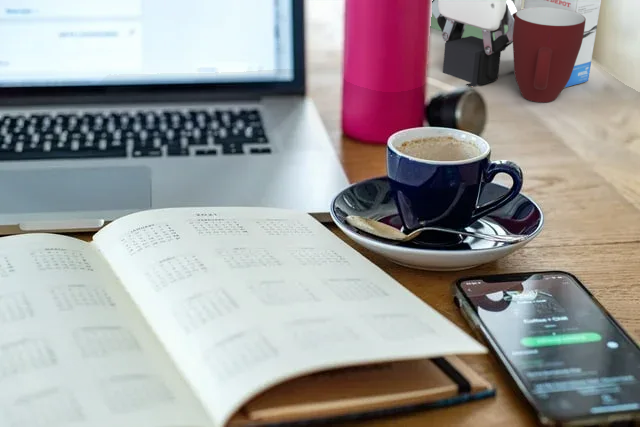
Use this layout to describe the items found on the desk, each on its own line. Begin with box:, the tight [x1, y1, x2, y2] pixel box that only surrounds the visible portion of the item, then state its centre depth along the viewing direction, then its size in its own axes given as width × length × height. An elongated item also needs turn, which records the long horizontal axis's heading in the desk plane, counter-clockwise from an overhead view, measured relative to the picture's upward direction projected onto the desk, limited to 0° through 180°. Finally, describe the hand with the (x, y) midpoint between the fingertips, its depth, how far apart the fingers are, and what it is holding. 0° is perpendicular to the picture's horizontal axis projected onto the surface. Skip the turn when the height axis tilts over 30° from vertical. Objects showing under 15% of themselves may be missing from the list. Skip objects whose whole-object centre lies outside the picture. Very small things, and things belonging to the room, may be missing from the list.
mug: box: [512, 7, 586, 103], centre depth 104 cm, size 10×8×10 cm
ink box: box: [523, 0, 602, 89], centre depth 111 cm, size 8×5×12 cm, turn 34°
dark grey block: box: [442, 36, 499, 88], centre depth 112 cm, size 5×5×4 cm
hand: (470, 74), depth 113 cm, fingers closed on dark grey block, 5 cm apart
